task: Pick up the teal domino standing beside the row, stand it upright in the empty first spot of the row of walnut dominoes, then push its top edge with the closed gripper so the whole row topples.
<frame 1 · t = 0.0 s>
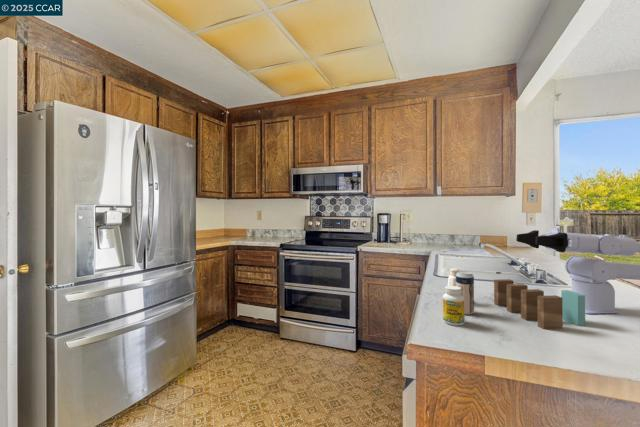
hand: (526, 239, 88), 22 cm above the counter, tool horizontal, fingers open, 7 cm apart
walnut domino 3: (517, 311, 88), on the counter
teal domino: (572, 322, 79), on the counter
supplement bottle: (453, 323, 80), on the counter
walnut domino 2: (503, 305, 94), on the counter
pepper shaker: (454, 302, 98), on the counter
walnut domino 5: (549, 327, 76), on the counter
walnut domino 4: (532, 318, 82), on the counter
beer can: (464, 313, 87), on the counter
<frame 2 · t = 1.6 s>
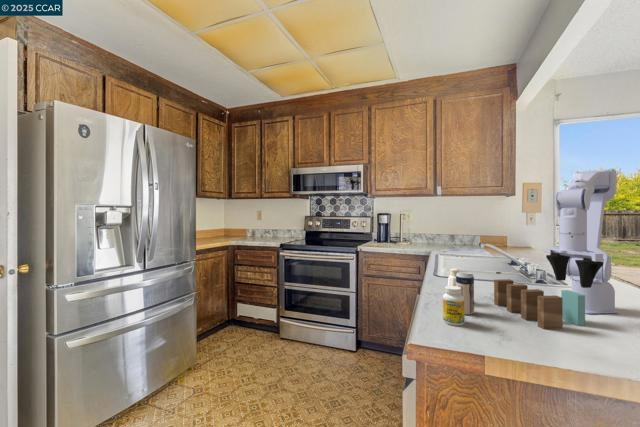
hand: (572, 283, 79), 10 cm above the counter, tool pointing down, fingers open, 7 cm apart
nothing on the counter moved.
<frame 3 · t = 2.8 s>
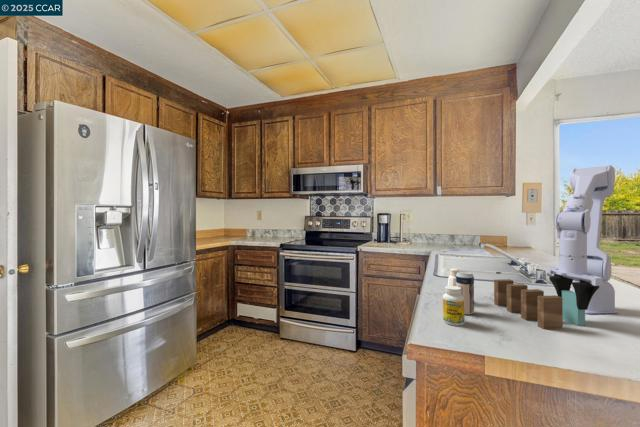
hand: (572, 305, 79), 4 cm above the counter, tool pointing down, fingers closed on teal domino, 5 cm apart
teal domino: (572, 322, 79), on the counter, touching gripper
everything else where it was.
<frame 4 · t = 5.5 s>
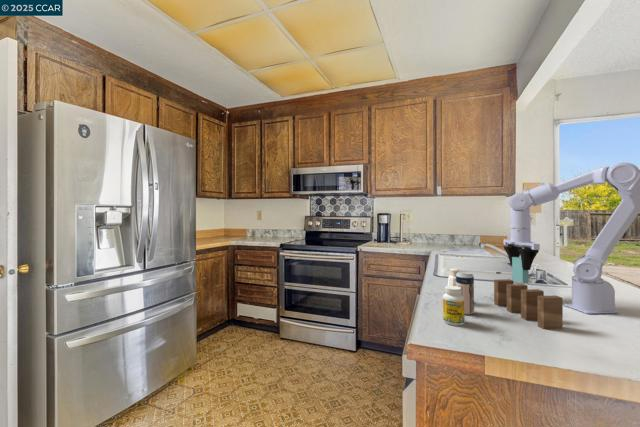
hand: (520, 268, 100), 10 cm above the counter, tool pointing down, fingers closed on teal domino, 5 cm apart
teal domino: (520, 281, 100), point 6 cm above the counter, touching gripper
everything else where it was.
when the fingers open (5 cm above the counter, at t = 8.3 s): teal domino stays where it is, on the counter.
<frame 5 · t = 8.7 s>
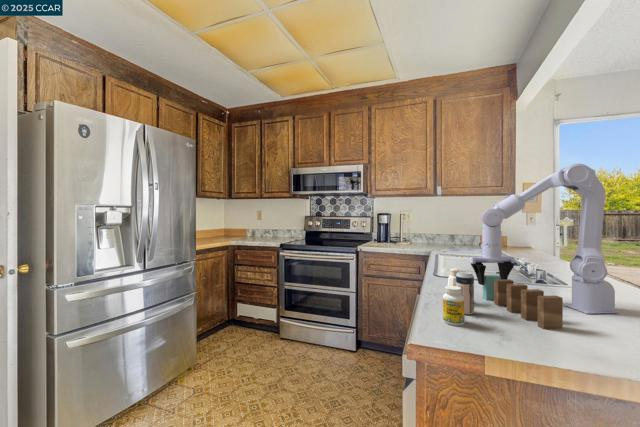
hand: (492, 284, 100), 5 cm above the counter, tool pointing down, fingers open, 7 cm apart
teal domino: (491, 299, 100), on the counter
everything else where it was.
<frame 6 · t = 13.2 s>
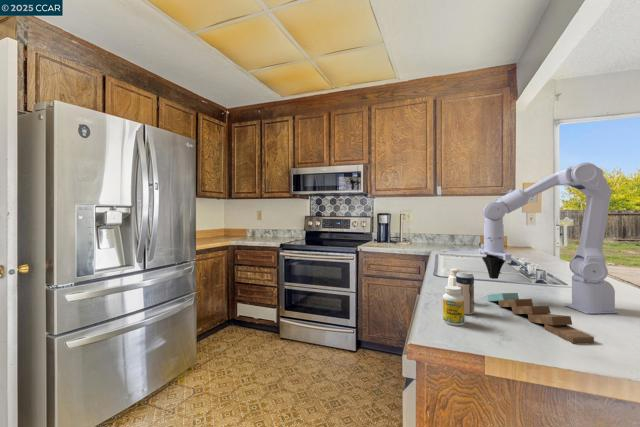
hand: (493, 278, 99), 7 cm above the counter, tool pointing down, fingers closed
walnut domino 3: (520, 309, 87), point 1 cm above the counter, tilted 71°, touching walnut domino 2, walnut domino 4
teal domino: (494, 297, 99), point 1 cm above the counter, tilted 70°, touching walnut domino 2
walnut domino 2: (506, 303, 93), point 1 cm above the counter, tilted 71°, touching teal domino, walnut domino 3
walnut domino 5: (554, 327, 75), on the counter, tilted 90°, touching walnut domino 4
walnut domino 4: (537, 317, 80), point 1 cm above the counter, tilted 75°, touching walnut domino 3, walnut domino 5
everything else where it was.
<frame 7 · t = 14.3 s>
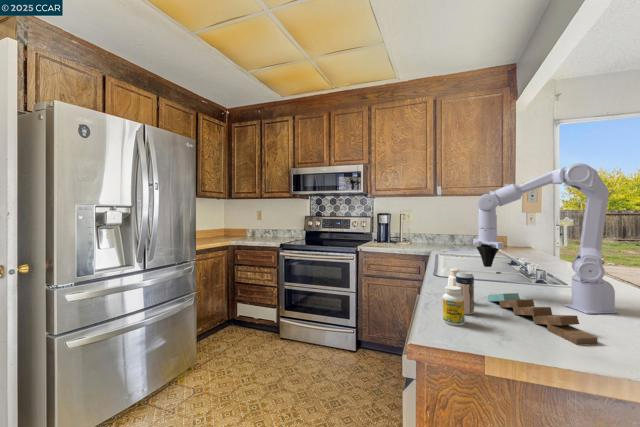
hand: (487, 266, 104), 10 cm above the counter, tool pointing down, fingers closed
walnut domino 3: (521, 310, 86), point 1 cm above the counter, tilted 72°, touching walnut domino 4
walnut domino 2: (507, 303, 92), point 1 cm above the counter, tilted 71°, touching teal domino
walnut domino 4: (541, 319, 79), point 1 cm above the counter, tilted 72°, touching walnut domino 3, walnut domino 5
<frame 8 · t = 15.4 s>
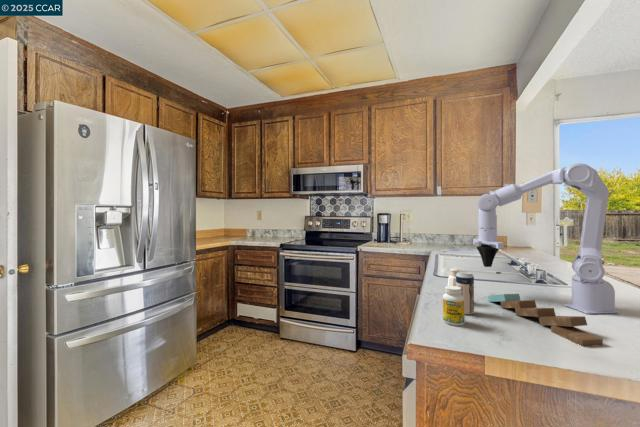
hand: (487, 266, 104), 10 cm above the counter, tool pointing down, fingers closed
walnut domino 3: (523, 311, 86), point 1 cm above the counter, tilted 73°, touching walnut domino 2, walnut domino 4
walnut domino 2: (508, 304, 92), point 1 cm above the counter, tilted 72°, touching teal domino, walnut domino 3
walnut domino 5: (560, 329, 74), on the counter, tilted 90°
walnut domino 4: (546, 320, 78), point 1 cm above the counter, tilted 72°, touching walnut domino 3
everything else where it was.
at the end: teal domino inside the target area (0.1 cm from its centre), point 0.9 cm above the counter; teal domino tilted 71°; walnut domino 5 tilted 90° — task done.
